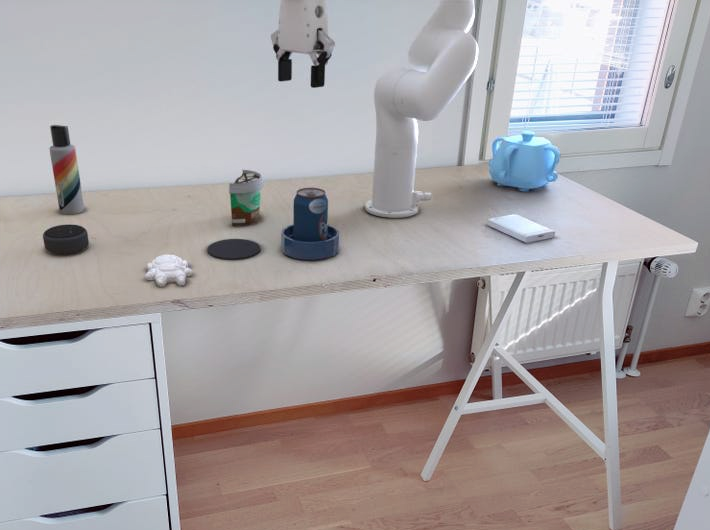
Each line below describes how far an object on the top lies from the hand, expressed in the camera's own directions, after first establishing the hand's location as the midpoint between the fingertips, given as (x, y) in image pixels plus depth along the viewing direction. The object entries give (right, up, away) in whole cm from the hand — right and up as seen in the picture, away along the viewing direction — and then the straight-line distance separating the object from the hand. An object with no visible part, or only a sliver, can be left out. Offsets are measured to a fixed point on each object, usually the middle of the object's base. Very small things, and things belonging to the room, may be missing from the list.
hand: (300, 83), depth 142 cm
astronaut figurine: (-25, -39, -6) cm, 47 cm away
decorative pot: (+59, -9, +46) cm, 75 cm away
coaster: (-14, -32, +5) cm, 36 cm away
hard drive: (+49, -27, +15) cm, 58 cm away
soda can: (+2, -32, +5) cm, 33 cm away
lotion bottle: (-54, -20, +27) cm, 64 cm away
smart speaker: (-49, -32, +6) cm, 59 cm away
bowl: (+2, -33, +5) cm, 33 cm away
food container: (-11, -23, +22) cm, 34 cm away
